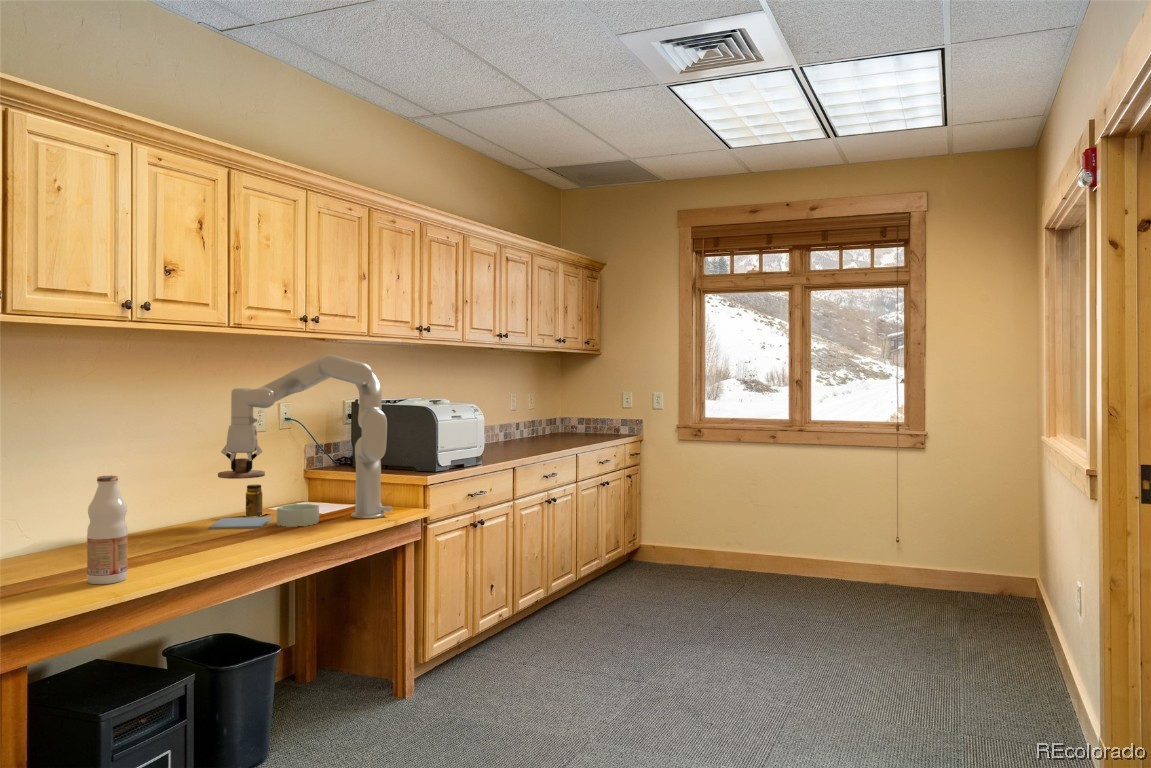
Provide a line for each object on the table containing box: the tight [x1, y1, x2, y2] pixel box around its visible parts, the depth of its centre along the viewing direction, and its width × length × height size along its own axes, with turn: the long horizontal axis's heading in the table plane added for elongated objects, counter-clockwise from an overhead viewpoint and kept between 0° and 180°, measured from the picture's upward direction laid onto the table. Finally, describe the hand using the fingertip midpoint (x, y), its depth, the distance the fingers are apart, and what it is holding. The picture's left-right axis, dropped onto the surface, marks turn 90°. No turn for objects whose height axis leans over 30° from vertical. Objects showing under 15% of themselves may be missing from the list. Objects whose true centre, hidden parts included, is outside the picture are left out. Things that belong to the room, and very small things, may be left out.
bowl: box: [276, 503, 320, 528], centre depth 308 cm, size 14×14×6 cm
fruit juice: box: [86, 475, 128, 585], centre depth 223 cm, size 9×9×28 cm
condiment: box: [245, 484, 263, 516], centre depth 323 cm, size 7×8×12 cm
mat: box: [208, 516, 273, 530], centre depth 305 cm, size 18×18×1 cm
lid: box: [217, 457, 266, 480], centre depth 305 cm, size 16×16×6 cm
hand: (241, 471), depth 305 cm, fingers closed on lid, 4 cm apart
